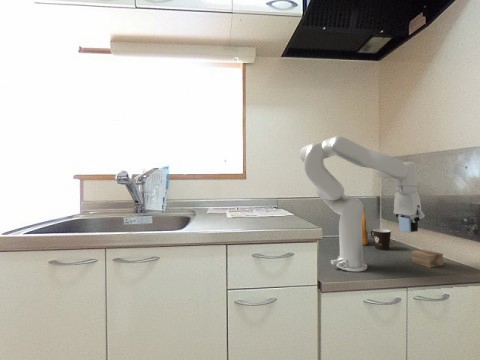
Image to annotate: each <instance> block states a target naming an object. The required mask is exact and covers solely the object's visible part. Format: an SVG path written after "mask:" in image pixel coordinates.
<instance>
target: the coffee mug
mask: <svg viewBox="0 0 480 360" xmlns="http://www.w3.org/2000/svg"><path fill="white" fill-rule="evenodd" d="M391 232H392V230H391V229H387V228H386V229H385V228H374V229H372V230H370V236H371V237H372V239H373V240H374V245H375V249H376V250H379V251H390V246H391V245H390V243H391V236H392V235H391V234H392V233H391Z"/></svg>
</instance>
